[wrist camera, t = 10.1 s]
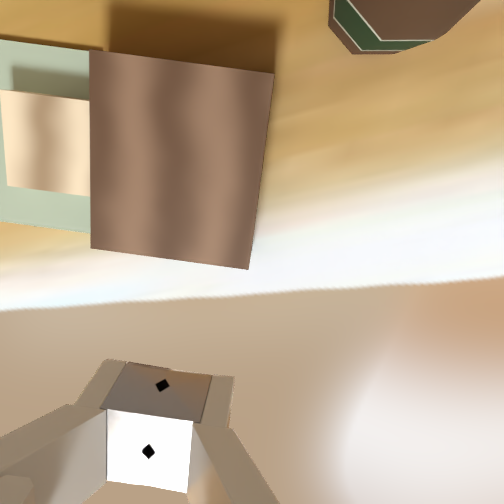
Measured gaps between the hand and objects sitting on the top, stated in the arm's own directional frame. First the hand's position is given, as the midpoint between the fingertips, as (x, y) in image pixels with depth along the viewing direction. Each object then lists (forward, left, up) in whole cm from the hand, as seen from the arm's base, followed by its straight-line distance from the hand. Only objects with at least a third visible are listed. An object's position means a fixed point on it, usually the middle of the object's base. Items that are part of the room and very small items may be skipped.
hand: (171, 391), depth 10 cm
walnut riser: (+6, 0, -31) cm, 31 cm away
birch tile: (+17, 0, -30) cm, 35 cm away
